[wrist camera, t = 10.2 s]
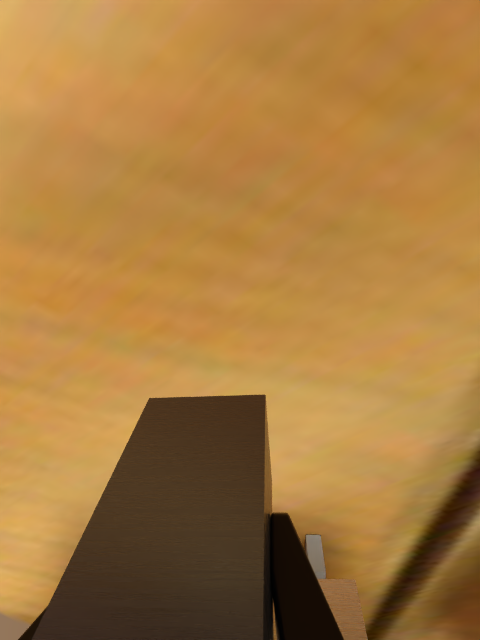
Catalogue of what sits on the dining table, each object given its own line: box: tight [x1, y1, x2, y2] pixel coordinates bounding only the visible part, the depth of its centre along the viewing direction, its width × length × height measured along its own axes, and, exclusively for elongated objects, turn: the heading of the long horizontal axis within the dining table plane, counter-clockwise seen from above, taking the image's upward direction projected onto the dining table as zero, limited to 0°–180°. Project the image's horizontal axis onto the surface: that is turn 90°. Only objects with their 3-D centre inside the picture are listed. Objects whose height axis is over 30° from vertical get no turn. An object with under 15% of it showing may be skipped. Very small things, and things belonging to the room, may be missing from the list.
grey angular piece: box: [32, 395, 367, 640], centre depth 8 cm, size 8×9×6 cm
